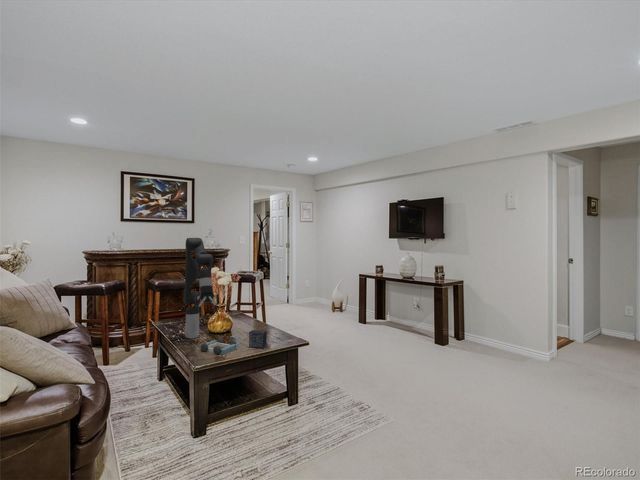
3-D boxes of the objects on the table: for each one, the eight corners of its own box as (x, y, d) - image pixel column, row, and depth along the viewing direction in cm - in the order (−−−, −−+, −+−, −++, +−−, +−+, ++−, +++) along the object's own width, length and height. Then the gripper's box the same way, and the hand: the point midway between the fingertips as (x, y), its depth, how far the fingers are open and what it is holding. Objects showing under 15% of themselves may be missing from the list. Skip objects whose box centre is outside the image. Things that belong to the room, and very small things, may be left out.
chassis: (198, 350, 229) (198, 342, 229) (215, 343, 243) (215, 336, 243) (221, 355, 220) (221, 347, 220) (238, 348, 233) (238, 340, 233)
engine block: (229, 343, 243) (229, 336, 243) (234, 342, 247) (234, 334, 247) (236, 345, 241) (236, 337, 240) (240, 343, 245) (240, 336, 244)
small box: (267, 345, 239) (267, 330, 239) (263, 348, 233) (263, 333, 233) (252, 344, 242) (252, 329, 242) (248, 347, 235) (248, 332, 235)
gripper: (216, 286, 222) (218, 312, 218) (193, 287, 215) (194, 314, 211) (219, 284, 215) (221, 310, 212) (194, 285, 209) (196, 313, 205)
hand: (207, 312), depth 211 cm, fingers open, 8 cm apart
